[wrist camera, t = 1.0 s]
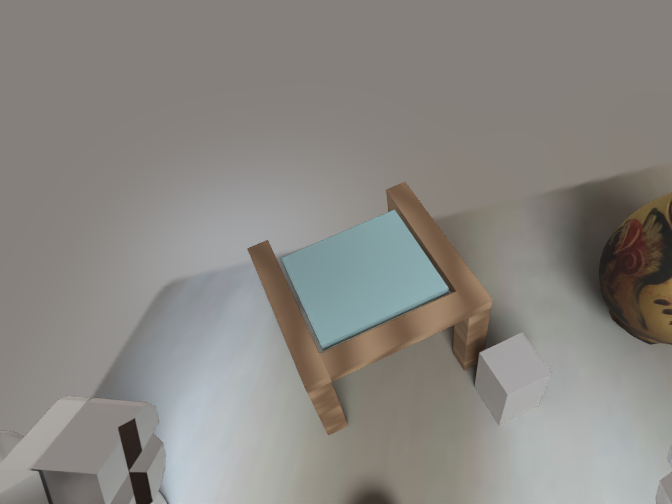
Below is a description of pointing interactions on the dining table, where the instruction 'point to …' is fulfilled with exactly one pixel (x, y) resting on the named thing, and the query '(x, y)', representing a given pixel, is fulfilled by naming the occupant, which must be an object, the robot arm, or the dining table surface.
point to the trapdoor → (362, 278)
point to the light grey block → (511, 378)
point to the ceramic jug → (641, 272)
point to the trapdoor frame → (454, 309)
